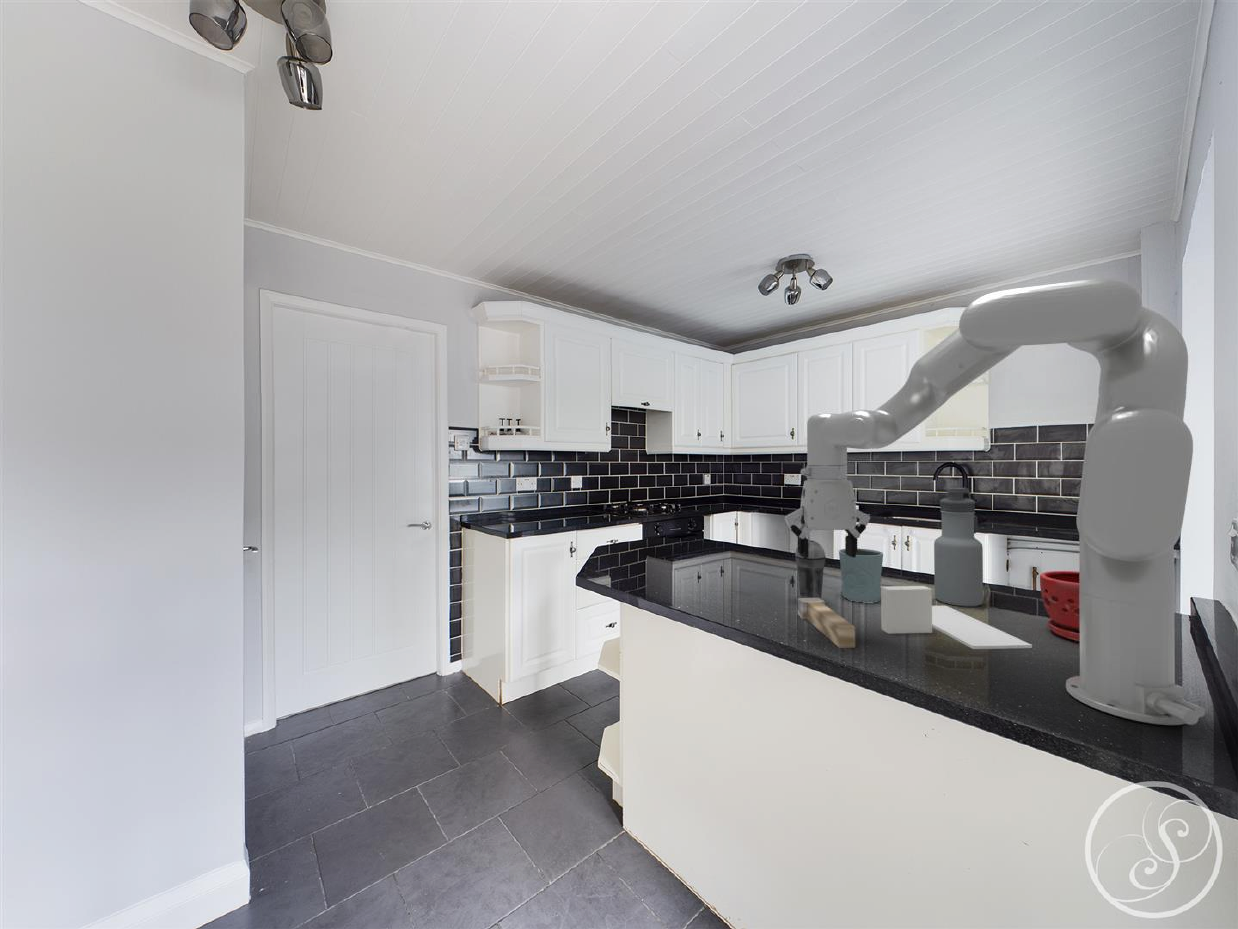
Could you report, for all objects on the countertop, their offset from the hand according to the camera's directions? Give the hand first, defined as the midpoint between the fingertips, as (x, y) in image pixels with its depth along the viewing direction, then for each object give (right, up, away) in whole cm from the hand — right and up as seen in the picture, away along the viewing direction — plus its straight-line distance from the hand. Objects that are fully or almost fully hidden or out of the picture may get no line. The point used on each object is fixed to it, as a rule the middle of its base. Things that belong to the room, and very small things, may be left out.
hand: (827, 556), depth 100 cm
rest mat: (+28, -15, +2) cm, 32 cm away
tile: (+16, -16, 0) cm, 23 cm away
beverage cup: (+5, -16, +20) cm, 26 cm away
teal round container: (+19, -15, +23) cm, 33 cm away
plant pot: (+48, -15, -5) cm, 51 cm away
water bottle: (+41, -15, +19) cm, 47 cm away
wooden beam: (0, -16, +2) cm, 16 cm away
